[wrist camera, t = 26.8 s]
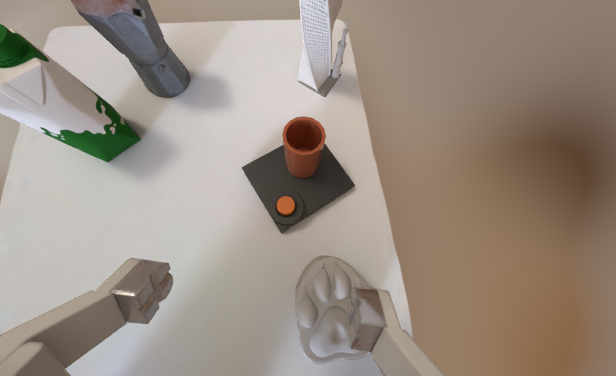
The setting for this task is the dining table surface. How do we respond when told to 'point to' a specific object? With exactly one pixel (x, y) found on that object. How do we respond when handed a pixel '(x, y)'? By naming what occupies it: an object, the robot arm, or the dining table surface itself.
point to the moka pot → (137, 41)
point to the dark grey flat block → (296, 185)
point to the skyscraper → (320, 44)
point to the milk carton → (57, 101)
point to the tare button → (286, 205)
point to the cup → (303, 146)
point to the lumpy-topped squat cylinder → (326, 310)
